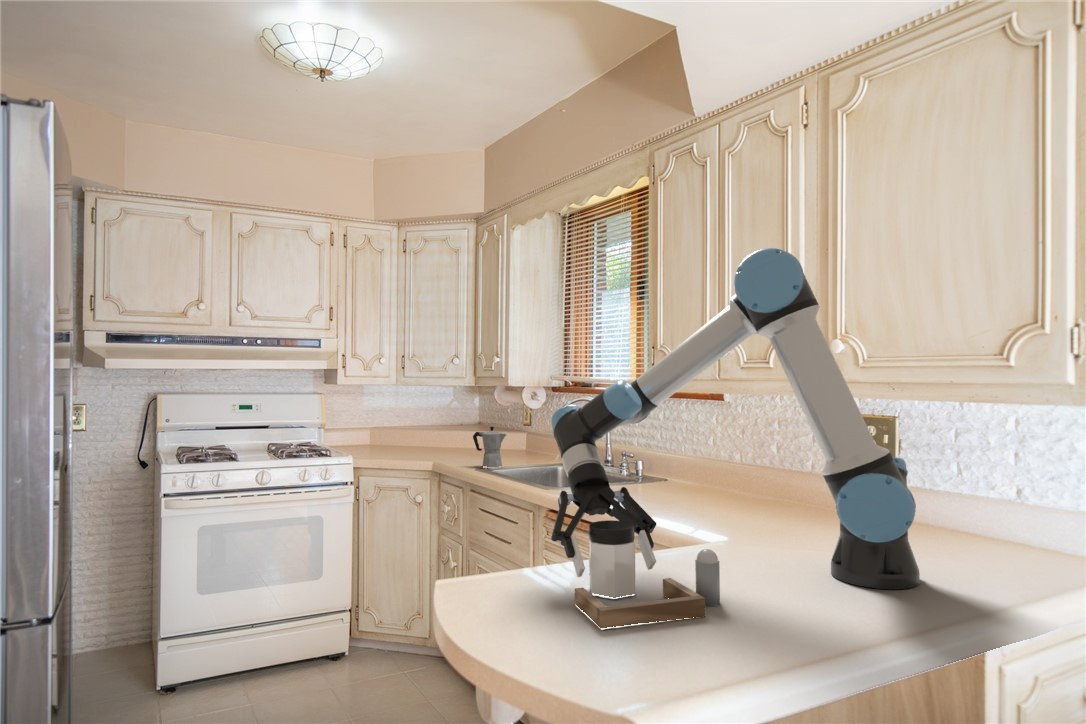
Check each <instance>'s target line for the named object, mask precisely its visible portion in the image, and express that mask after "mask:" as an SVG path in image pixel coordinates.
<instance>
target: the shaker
mask: <svg viewBox="0 0 1086 724" xmlns="http://www.w3.org/2000/svg"><path fill="white" fill-rule="evenodd" d="M694 566H695V567H694V568H695V569H694V571H695V592H696V593H697V594H699V595H701V596H702V597H704V598H705V607H717V606H719V605H721V583H720V582H721V581H720V580H721V578H720V569H721V568H720V560H719V557H718V555H717V554H716V552H715V551H714V550H712V549H709V548H704V549H702V550H700V551H698V553H697V555H696V559H695V565H694Z"/></svg>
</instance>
